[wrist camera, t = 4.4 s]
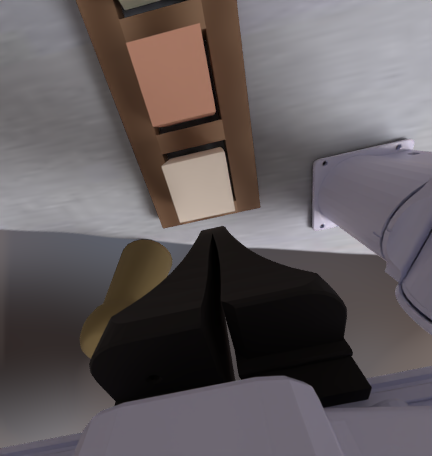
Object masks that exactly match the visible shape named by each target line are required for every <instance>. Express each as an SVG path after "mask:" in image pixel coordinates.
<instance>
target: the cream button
mask: <svg viewBox="0 0 432 456" xmlns="http://www.w3.org/2000/svg"><path fill="white" fill-rule="evenodd" d="M161 167H162V170H163V173H164V176H165V179H166V182H167V185H168V188H169V191H170V194H171V197H172V200H173V203H174V206H175V209H176V212H177V215H178V218H179V221H180V223H182V222H187V221H191V220H196V219H200V218H205V217H210V216H214V215H219V214H223V213H228V212H233V211H235V207H234V201H233V196H232V190H231V185H230V179H229V174H228V168H227V163H226V157H225V152H224V150H223V149H222V148H221V147H217V148H213V149H209V150H205V151H200V152H196V153H192V154H188V155H183V156H179V157H175V158H171V159H169V160H168V161H167V162H166V163H164V164H163V165H162V166H161Z"/></svg>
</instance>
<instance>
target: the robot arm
mask: <svg viewBox="0 0 432 456" xmlns="http://www.w3.org/2000/svg"><path fill="white" fill-rule="evenodd" d="M397 145H398V147H397V148H396V146H397ZM413 147H414V140H413V139H405V140H400V141H396V142H392V143H387V144H383V145H378V146H374V147H369V148H365V149H361V150H356V151H352V152H347V153H343V154H338V155H334V156H329V157H325V158H321V159H317V160H316V161H314V163H313V195H312V228H313V229H314V230H315V231H318V230H323V229H328V228H333V227H338V226H339V227H340V228H341V229H343V230H344V231H345V232H347V233H348V234H350V235H351V236H352V237H354V238H355V239H356V240H358V241H359V242H361V243H362V244H363V245H365V246H366V247H367V248H369V249H370V250H372V251H373V252H374V253H376V254H377V255H379V256H380V257H382V258H383V259H384V260H386V261H387V267H386V270H385V272H386V273H388V274H389V275H390V276H391V277H393V278H394V279H395V280H396V281H398V282H399V284H398V285H397V288H396V292H395V294H396V298H397V300H398V302H399V304H400V306H401V307H402V308H403V310H404V311H405V312H406V313H407V314H408V315H409V316H410V317H411V318H412V319H413V320H414V321H415V322H416V323H417V324H419V326H420V327H422V328H423V329H424V330H425V331H427V332H428V333H429V334H431V335H432V152H427V151H417V150H413ZM324 161H325V162H326V163H325V165H322V163H323V162H324ZM321 224H323V225H322V226H321V227H320V225H321ZM225 317H226V319H225ZM346 319H347V309H346V306H345V304H344V302H343V301H342V300H341V298H340V297H339V296H338V295H337V293H336V292H335V291H334V290H333V289H332V288H331V287H330V286H329V285H328V283H326V282H325V281H324V280H323V279H322V278H321V277H320V276H319V275H318V274H317V273H313V272H309V271H304V270H300V269H295V268H291V267H288V266H285V265H281V264H279V263H276V262H273V261H271V260H268V259H266V258H264V257H262V256H260V255H258V254H256V253H254V252H252V251H251V250H249V249H248V248H246V247H245V246H244V245H242V244H241V243H240V242H239V241H238V240H236V239H235V238H234V237H233V236H232V235H231V234H230V233H229V232H228V230H227V229H226V227H224V226H221V227H216V228H212V229H207V230H203V231H201V233H200V234H199V236H198V238H197V240H196V241H195V243H194V245H193V246H192V248H191V249H190V251H189V252H188V254H187V255H186V257H185V258H184V259H183V261H182V262H181V263H180V264H179V265H178V266H177V267H176V268H175V270H174V271H173V272H172V273H171V274H170V275H168V276H167V277H166V278H165V279H164V280H163V281H162V282H161V283H160V284H158V285H157V286H156V287H155V288H153V289H152V290H151V291H150V292H148V293H147V294H146V295H144V296H143V297H141V298H140V299H139V300H137V301H136V302H134V303H133V304H131V305H129V306H128V307H126V308H125V309H123V310H122V311H120V312H118V313H117V314H115V315H113V316H112V317H111V318H110V320H109V322H108V324H107V326H106V328H105V330H104V332H103V334H102V336H101V338H100V341H99V343H98V345H97V347H96V349H95V351H94V353H93V355H92V357H91V360H90V364H89V365H90V371H91V374H92V376H93V377H94V378H95V380H96V381H97V382H98V383H99V385H100V386H102V388H103V389H104V390H105V391H106V392H107V393H108V394H109V395H110V396H111V397H112V398H113V399H114V400H115V401H116V402H115V406H113V407H111V408H108V409H105V410H102V411H100V412H99V413H98V414H96V415H95V416H94V417H93V418H92V419H91V420H90V422H89V423H88V425H87V426H86V427H85V428H84V430H83V432H82V433H77V434H71V435H66V436H61V437H55V438H51V439H45V440H40V441H35V442H29V443H24V444H19V445H13V446H9V447H4V448H0V456H432V366H429V367H423V368H418V369H413V370H407V371H402V372H397V373H392V374H386V375H381V376H376V377H371V378H365V376H364V375H363V373H362V372H361V370H360V369H359V367H358V366H357V364H356V363H355V361H354V360H353V358H352V357H351V356H352V354H353V352H352V349H351V348H350V346H349V345H348V343H347V342H346V341H345V339H344V332H345V325H346ZM226 321H227V325H228V328H229V332H230V335H231V339H232V342H233V346H234V349H235V355H236V361H237V368H238V373H239V377H240V378H241V380H238V381H235V376H234V370H233V364H232V357H231V352H230V345H229V338H228V332H227V325H226Z"/></svg>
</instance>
